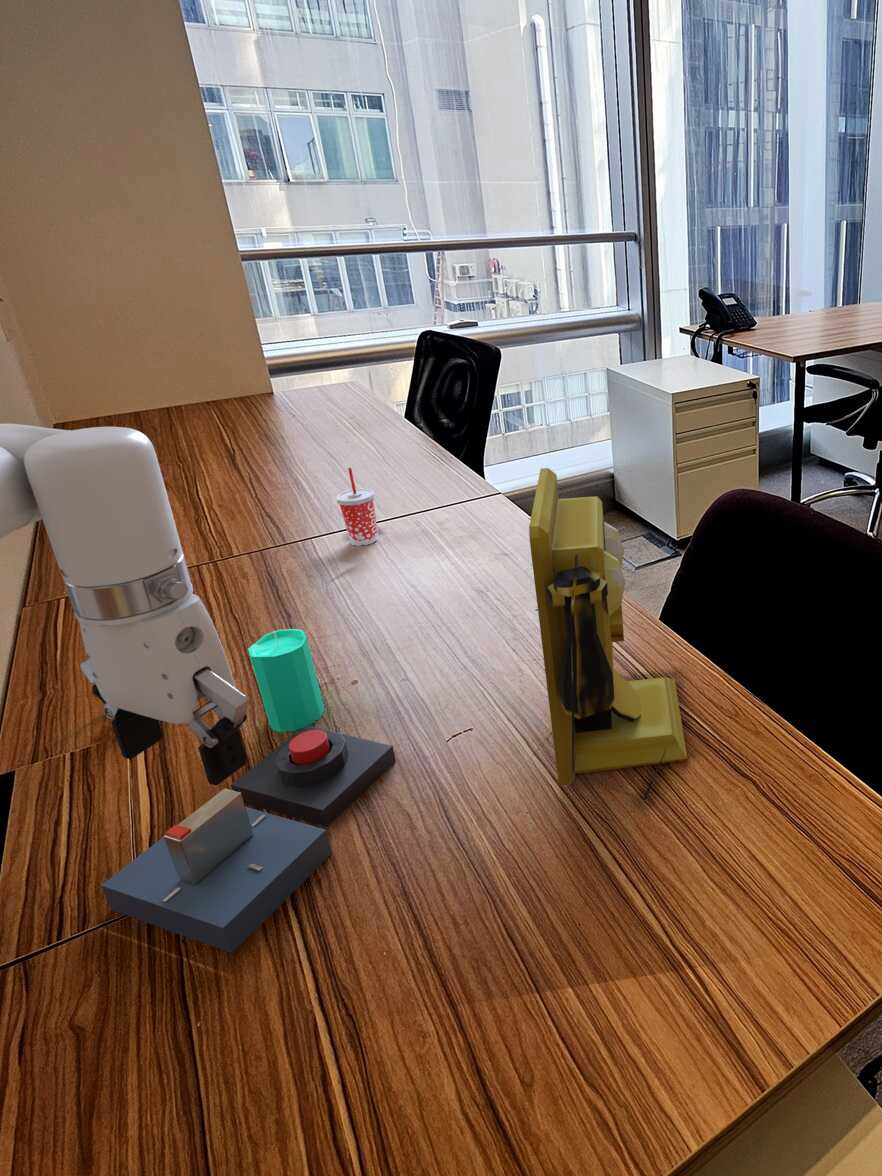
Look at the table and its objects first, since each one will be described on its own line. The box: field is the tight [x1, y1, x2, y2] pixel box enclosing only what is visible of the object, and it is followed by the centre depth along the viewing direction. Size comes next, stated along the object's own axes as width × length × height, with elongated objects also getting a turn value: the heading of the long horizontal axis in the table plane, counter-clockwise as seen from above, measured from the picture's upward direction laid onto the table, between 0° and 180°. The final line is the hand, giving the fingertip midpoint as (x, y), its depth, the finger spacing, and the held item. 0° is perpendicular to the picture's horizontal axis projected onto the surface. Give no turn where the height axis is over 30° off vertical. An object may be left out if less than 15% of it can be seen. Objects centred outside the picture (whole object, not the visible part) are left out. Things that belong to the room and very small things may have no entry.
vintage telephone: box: [528, 467, 688, 802], centre depth 85 cm, size 31×14×30 cm, turn 9°
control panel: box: [100, 806, 333, 954], centre depth 71 cm, size 14×11×3 cm
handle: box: [162, 788, 254, 884], centre depth 70 cm, size 6×2×5 cm, turn 162°
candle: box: [247, 628, 325, 733], centre depth 92 cm, size 6×6×12 cm
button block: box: [230, 725, 397, 828], centre depth 83 cm, size 12×10×4 cm
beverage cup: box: [335, 467, 379, 547], centre depth 138 cm, size 6×6×14 cm
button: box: [289, 730, 330, 765], centre depth 82 cm, size 4×4×2 cm
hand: (185, 761), depth 67 cm, fingers open, 9 cm apart
